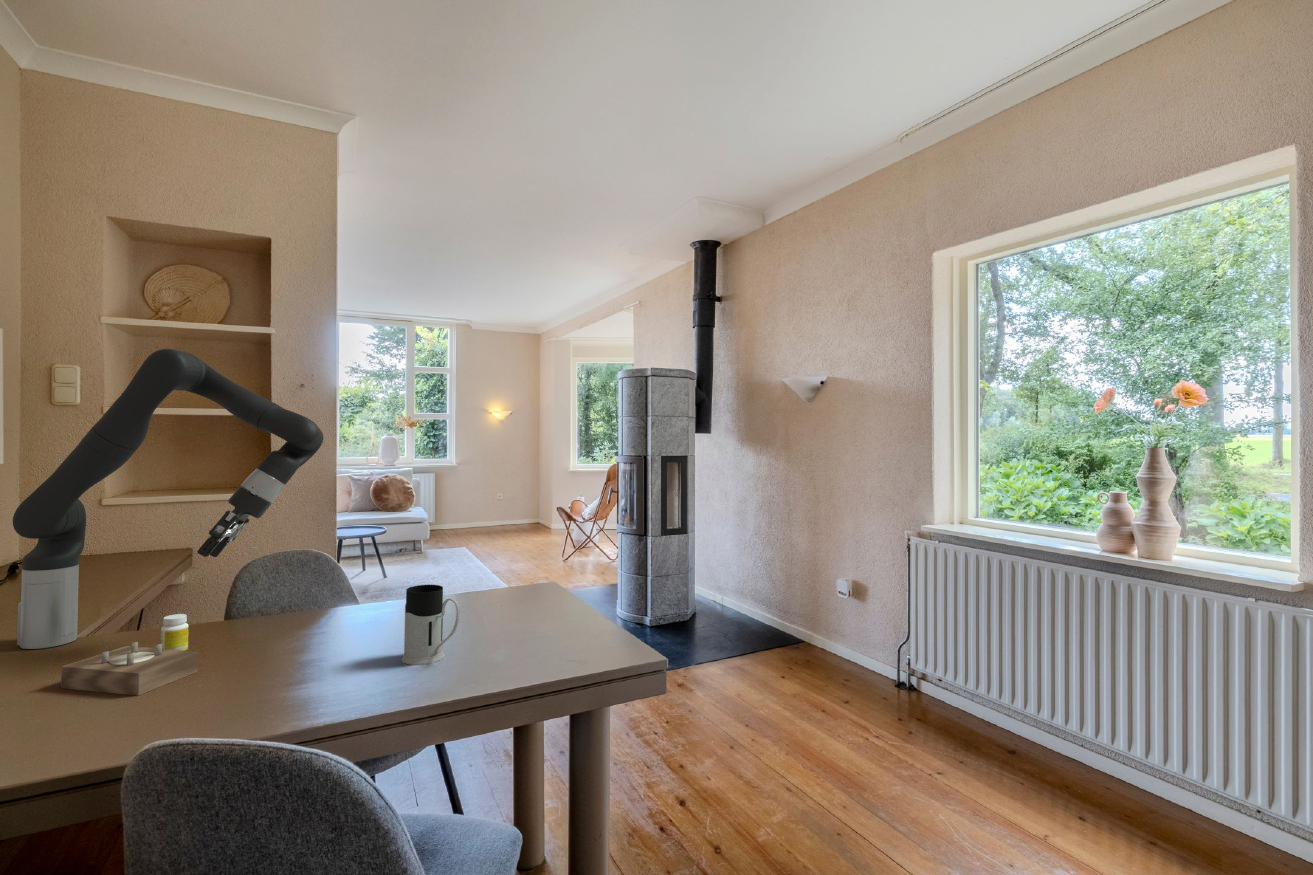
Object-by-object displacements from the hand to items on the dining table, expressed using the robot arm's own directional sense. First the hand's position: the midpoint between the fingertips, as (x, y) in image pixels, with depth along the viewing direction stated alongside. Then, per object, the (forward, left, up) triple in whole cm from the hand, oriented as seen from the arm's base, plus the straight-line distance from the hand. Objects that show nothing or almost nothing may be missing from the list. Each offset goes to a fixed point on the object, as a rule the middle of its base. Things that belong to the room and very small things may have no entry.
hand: (206, 555), depth 137 cm
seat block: (+1, -17, -21) cm, 27 cm away
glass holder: (+51, +5, -21) cm, 56 cm away
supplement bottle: (-4, -4, -21) cm, 22 cm away
